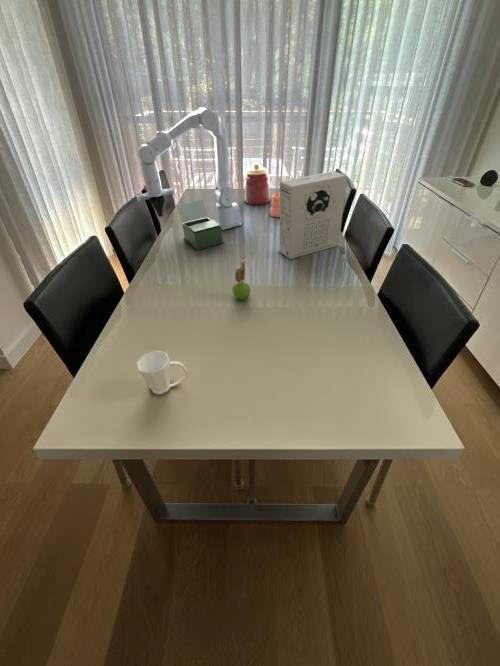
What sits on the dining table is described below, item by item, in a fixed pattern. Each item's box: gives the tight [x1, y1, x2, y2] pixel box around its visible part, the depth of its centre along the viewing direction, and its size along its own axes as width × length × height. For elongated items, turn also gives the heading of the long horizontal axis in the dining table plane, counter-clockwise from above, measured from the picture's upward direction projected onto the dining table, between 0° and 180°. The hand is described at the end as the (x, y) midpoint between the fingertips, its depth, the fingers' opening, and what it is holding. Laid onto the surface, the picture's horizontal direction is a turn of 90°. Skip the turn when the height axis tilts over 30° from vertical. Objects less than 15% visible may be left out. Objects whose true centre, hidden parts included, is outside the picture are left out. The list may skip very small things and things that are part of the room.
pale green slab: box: [176, 199, 208, 222], centre depth 137 cm, size 6×11×1 cm
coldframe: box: [181, 216, 224, 251], centre depth 136 cm, size 13×11×7 cm
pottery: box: [269, 191, 280, 218], centre depth 154 cm, size 18×10×10 cm, turn 94°
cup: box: [135, 350, 188, 395], centre depth 74 cm, size 7×10×8 cm
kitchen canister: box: [243, 162, 271, 206], centre depth 168 cm, size 13×13×18 cm
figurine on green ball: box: [231, 256, 251, 300], centre depth 100 cm, size 5×6×12 cm
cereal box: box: [279, 170, 348, 260], centre depth 120 cm, size 22×8×25 cm, turn 115°
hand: (160, 215), depth 137 cm, fingers closed
